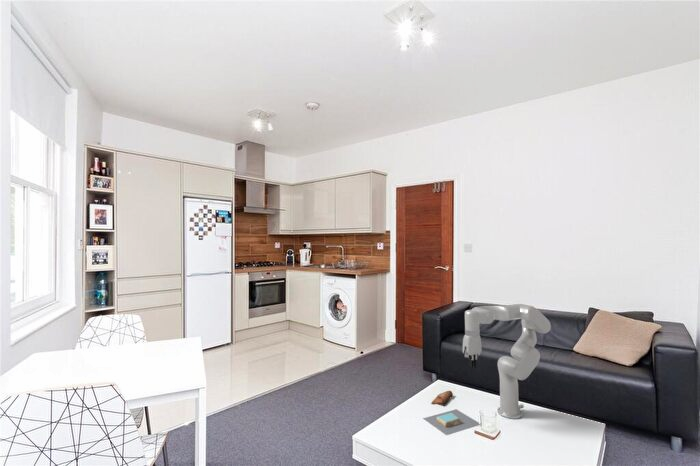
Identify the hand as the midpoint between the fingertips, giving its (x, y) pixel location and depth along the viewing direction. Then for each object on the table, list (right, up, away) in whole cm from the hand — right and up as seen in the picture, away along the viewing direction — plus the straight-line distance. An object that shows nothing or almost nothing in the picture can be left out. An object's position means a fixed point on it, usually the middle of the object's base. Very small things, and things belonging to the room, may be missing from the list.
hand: (472, 366), depth 192 cm
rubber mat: (-12, -29, -3) cm, 32 cm away
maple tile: (-10, -27, -1) cm, 29 cm away
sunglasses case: (-10, -31, +24) cm, 41 cm away
